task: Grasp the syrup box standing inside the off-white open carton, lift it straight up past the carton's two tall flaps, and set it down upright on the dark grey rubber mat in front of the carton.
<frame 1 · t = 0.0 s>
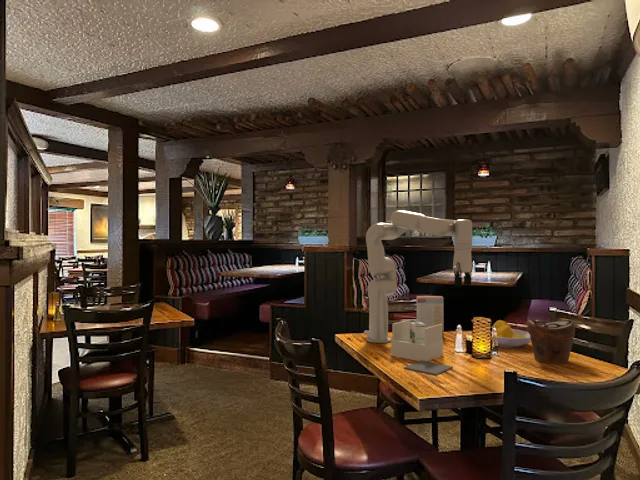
hand: (463, 285, 210), 31 cm above the table, tool pointing down, fingers open, 9 cm apart
fruit bowl: (502, 344, 233), on the table
mat: (428, 368, 188), on the table
brown flower pot: (550, 360, 202), on the table
syrup box: (417, 355, 209), resting in carton
carton: (417, 355, 209), on the table
cracker box: (429, 334, 256), on the table
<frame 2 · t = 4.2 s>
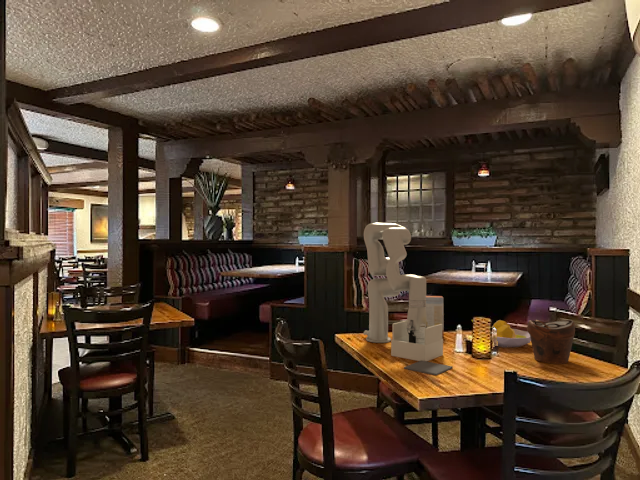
hand: (417, 342, 209), 6 cm above the table, tool pointing down, fingers closed on syrup box, 8 cm apart
syrup box: (417, 355, 209), resting in carton, touching gripper
everything else where it was.
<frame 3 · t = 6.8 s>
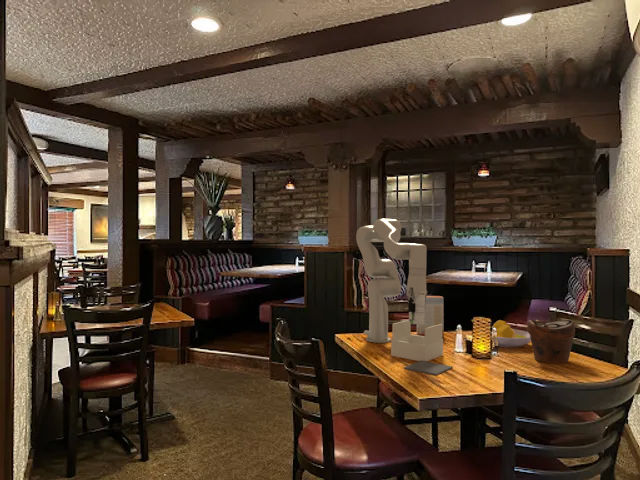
hand: (416, 310, 210), 20 cm above the table, tool pointing down, fingers closed on syrup box, 8 cm apart
syrup box: (416, 323, 210), point 14 cm above the table, touching gripper
everything else where it was.
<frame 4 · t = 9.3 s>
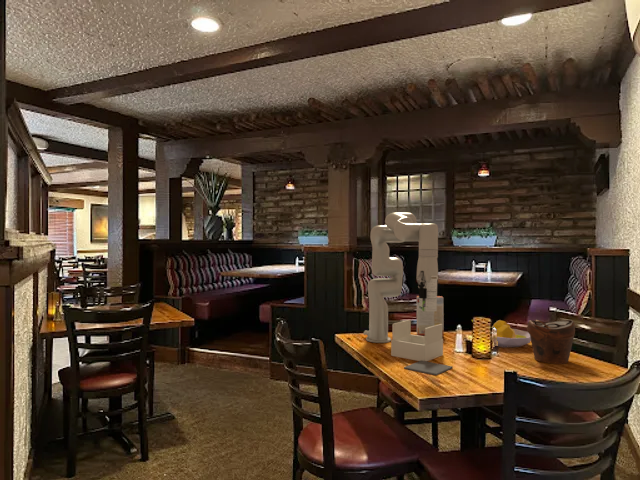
hand: (428, 297, 189), 28 cm above the table, tool pointing down, fingers closed on syrup box, 8 cm apart
syrup box: (428, 311, 189), point 23 cm above the table, touching gripper
everything else where it was.
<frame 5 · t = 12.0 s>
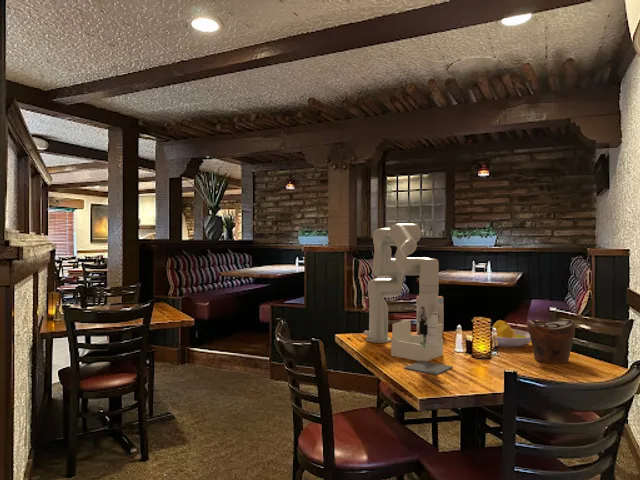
hand: (428, 332, 188), 14 cm above the table, tool pointing down, fingers closed on syrup box, 8 cm apart
syrup box: (428, 346, 188), point 9 cm above the table, touching gripper
everything else where it was.
when the fingers open (7 cm above the table, at t = 14.5 s): syrup box drops 1 cm, resting on mat.
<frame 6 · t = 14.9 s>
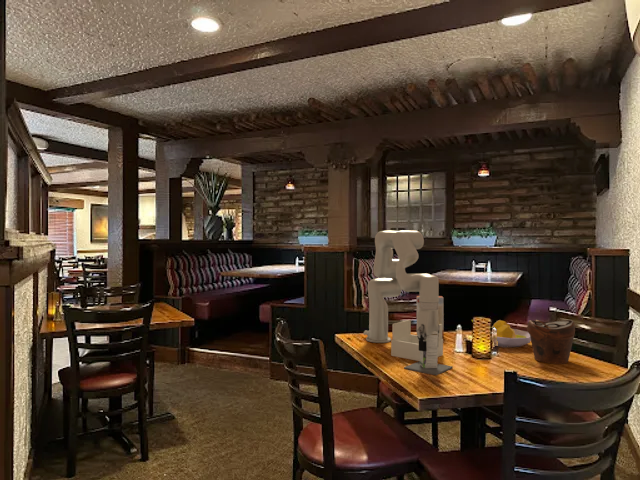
hand: (428, 348, 188), 8 cm above the table, tool pointing down, fingers open, 9 cm apart
syrup box: (428, 367, 188), resting on mat
everything else where it was.
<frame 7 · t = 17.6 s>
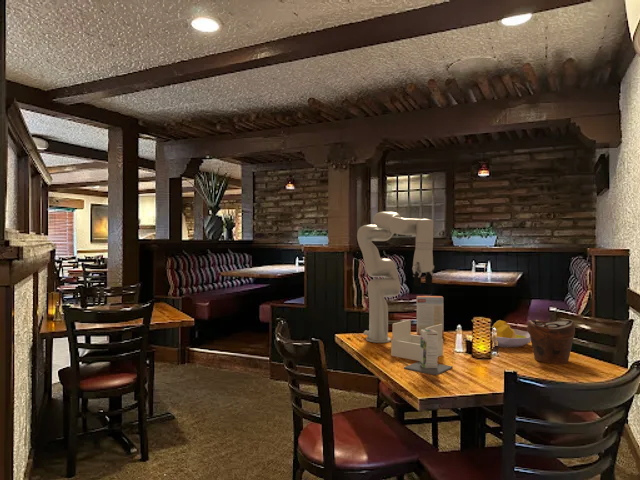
hand: (423, 285, 208), 31 cm above the table, tool pointing down, fingers open, 9 cm apart
nothing on the table moved.
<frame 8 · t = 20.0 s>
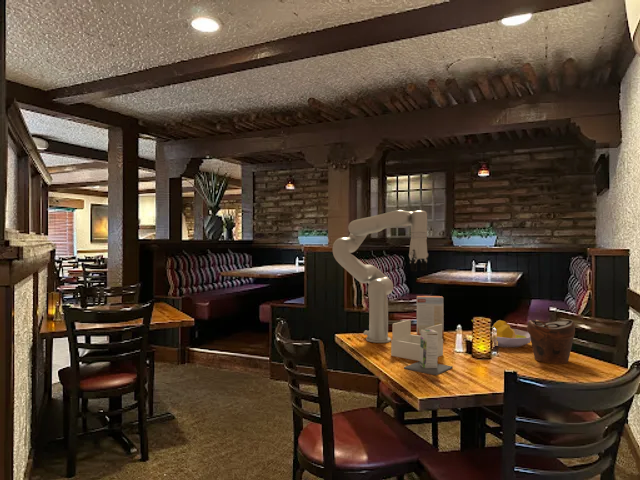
hand: (418, 270, 230), 36 cm above the table, tool pointing down, fingers open, 9 cm apart
nothing on the table moved.
at the end: syrup box inside the target area on the mat (0.4 cm from its centre), point 0.4 cm above the mat's base; syrup box tilted 0°; the gripper is holding nothing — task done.
